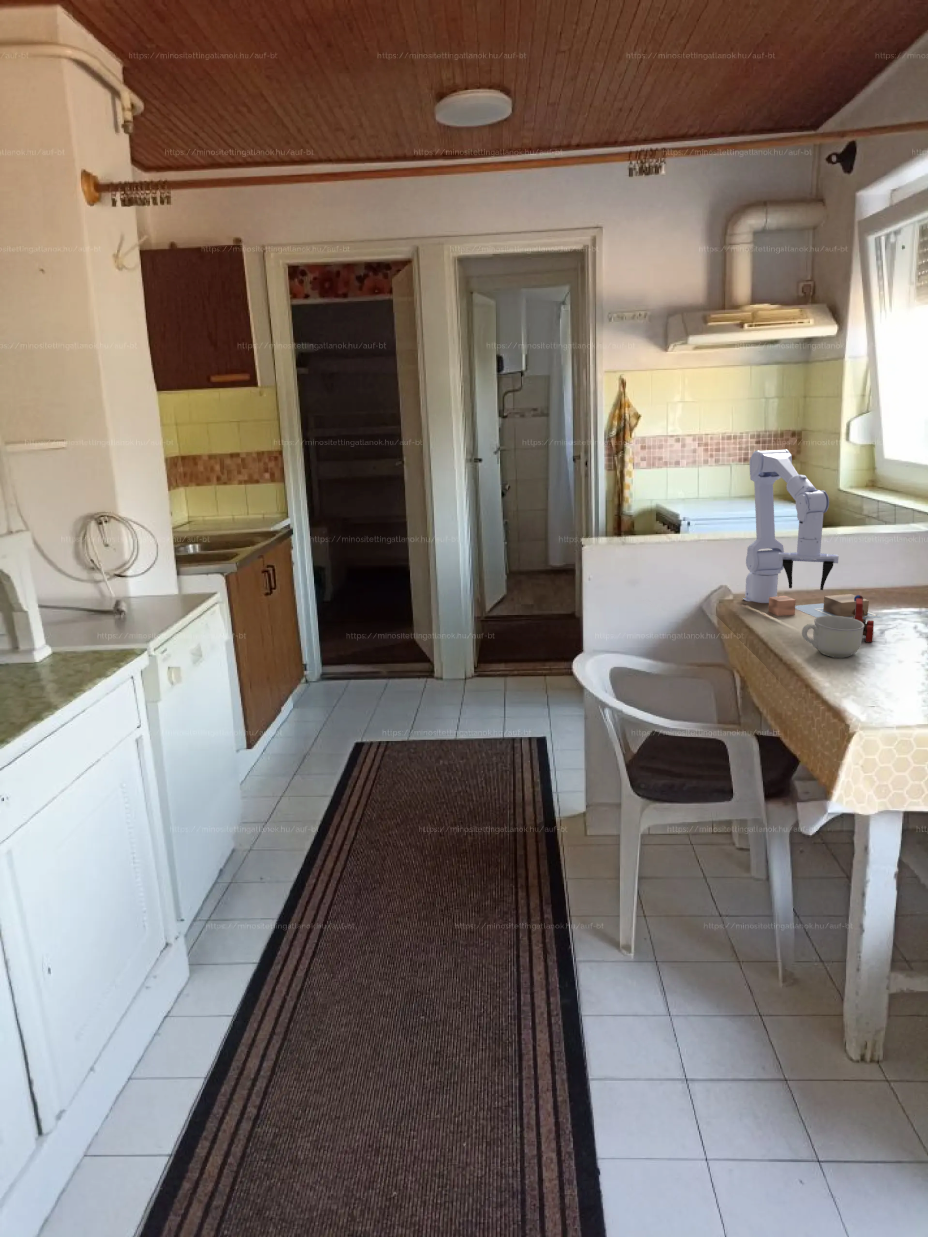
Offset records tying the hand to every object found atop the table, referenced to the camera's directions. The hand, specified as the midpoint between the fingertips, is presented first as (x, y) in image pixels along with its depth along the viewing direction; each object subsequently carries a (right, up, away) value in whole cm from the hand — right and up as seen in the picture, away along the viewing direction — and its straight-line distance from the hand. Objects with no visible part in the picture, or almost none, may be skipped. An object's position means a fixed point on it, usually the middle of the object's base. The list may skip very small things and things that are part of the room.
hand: (805, 588), depth 223 cm
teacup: (-5, -17, -25) cm, 30 cm away
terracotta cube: (-3, -7, +10) cm, 12 cm away
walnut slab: (+14, -6, +7) cm, 17 cm away
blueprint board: (+11, -7, +9) cm, 16 cm away
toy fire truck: (+7, -13, -13) cm, 20 cm away
